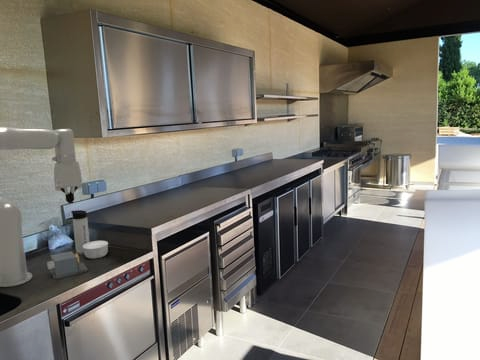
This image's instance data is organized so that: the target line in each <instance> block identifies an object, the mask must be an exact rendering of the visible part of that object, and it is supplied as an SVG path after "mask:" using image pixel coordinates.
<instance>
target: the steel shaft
mask: <svg viewBox="0 0 480 360" xmlns="http://www.w3.org/2000/svg"><path fill="white" fill-rule="evenodd" d="M73 254H74V255H75V256H76V258H77V266H78V265H80V263H81V262H80V256H79V254H78V253H76V252H75V253H73ZM46 264H47V269H48V270H52V269H53V268H55V267H54V261H51V260H50V261H47V263H46Z"/></svg>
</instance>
